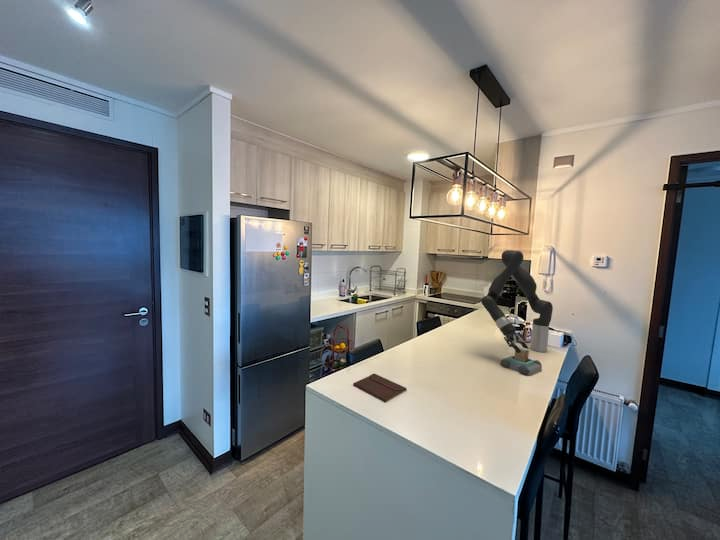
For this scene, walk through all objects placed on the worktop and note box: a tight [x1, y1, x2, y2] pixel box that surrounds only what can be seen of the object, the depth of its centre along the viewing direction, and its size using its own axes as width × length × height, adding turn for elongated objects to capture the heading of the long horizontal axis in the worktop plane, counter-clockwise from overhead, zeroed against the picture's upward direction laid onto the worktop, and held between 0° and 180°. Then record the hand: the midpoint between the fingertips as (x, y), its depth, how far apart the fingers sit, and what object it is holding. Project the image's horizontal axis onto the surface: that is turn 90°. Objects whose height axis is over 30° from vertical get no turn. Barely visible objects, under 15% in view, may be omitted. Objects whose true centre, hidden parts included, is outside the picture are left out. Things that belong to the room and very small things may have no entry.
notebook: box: [353, 373, 408, 403], centre depth 135 cm, size 15×20×2 cm
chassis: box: [500, 355, 543, 377], centre depth 163 cm, size 16×16×5 cm
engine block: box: [514, 346, 530, 363], centre depth 162 cm, size 5×5×8 cm
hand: (523, 351), depth 162 cm, fingers open, 8 cm apart
